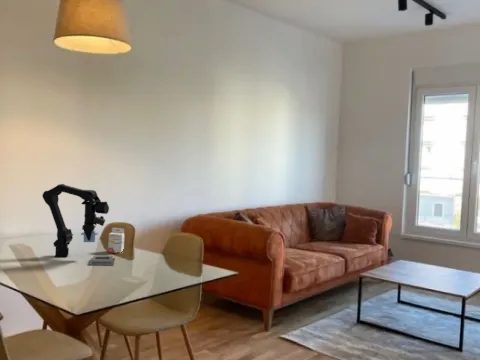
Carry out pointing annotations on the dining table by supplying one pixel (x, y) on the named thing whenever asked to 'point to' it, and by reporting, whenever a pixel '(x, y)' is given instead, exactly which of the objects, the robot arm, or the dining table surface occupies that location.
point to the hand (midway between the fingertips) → (89, 239)
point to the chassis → (102, 260)
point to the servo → (91, 237)
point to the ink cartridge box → (116, 240)
